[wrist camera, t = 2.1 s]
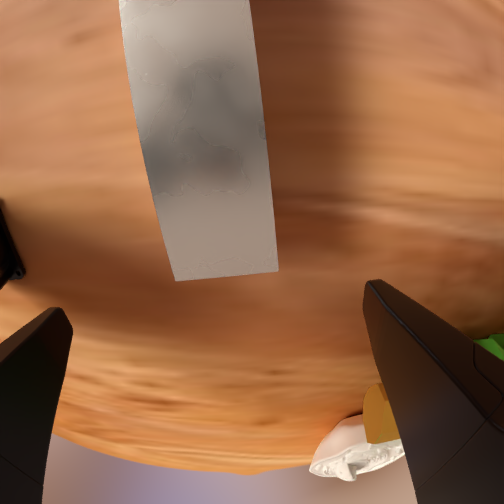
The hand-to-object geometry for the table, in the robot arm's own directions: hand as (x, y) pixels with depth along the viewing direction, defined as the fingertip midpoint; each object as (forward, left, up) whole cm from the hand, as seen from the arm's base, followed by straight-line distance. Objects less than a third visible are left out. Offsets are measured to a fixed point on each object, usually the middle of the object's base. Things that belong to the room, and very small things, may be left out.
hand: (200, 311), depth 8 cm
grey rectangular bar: (+8, 0, -10) cm, 12 cm away
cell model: (-26, -10, -10) cm, 30 cm away
